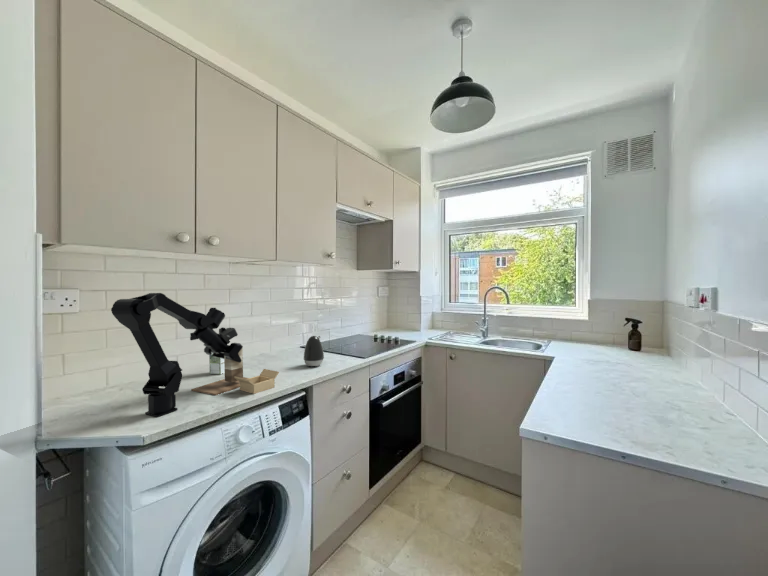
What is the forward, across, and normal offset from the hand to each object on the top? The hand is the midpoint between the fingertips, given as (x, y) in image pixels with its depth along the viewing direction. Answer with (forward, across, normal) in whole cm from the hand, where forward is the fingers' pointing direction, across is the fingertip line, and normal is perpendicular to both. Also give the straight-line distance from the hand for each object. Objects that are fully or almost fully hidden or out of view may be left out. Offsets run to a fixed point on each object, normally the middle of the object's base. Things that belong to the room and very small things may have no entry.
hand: (236, 360), depth 131 cm
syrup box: (+11, +23, +3) cm, 26 cm away
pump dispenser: (+34, -6, -21) cm, 40 cm away
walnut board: (+4, +2, +9) cm, 10 cm away
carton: (+7, -13, +6) cm, 16 cm away
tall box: (+4, 0, +6) cm, 8 cm away
